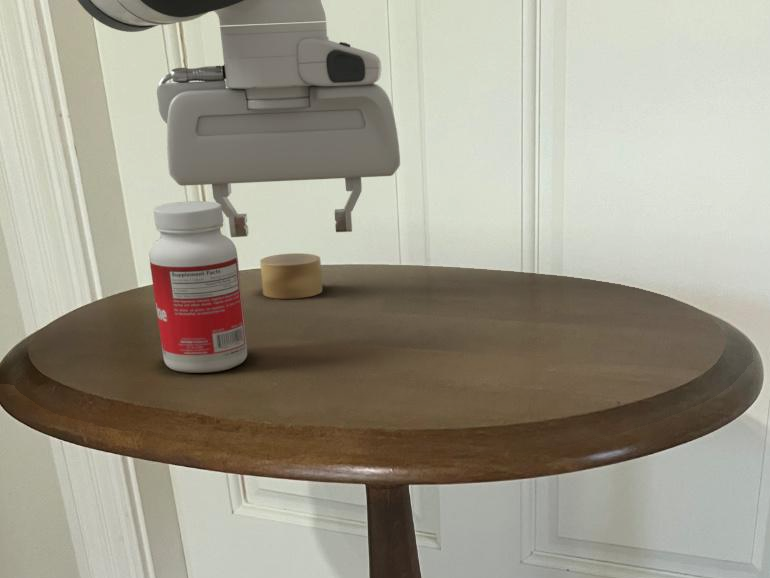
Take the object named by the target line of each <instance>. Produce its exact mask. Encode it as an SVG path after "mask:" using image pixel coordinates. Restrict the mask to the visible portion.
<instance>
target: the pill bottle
mask: <svg viewBox="0 0 770 578" xmlns="http://www.w3.org/2000/svg"><path fill="white" fill-rule="evenodd" d="M223 214H224V213H223V211H222V207H221V204H219V203H217V202H216V201H206V200H205V201H204V200H202V201H201V200H190V201H189V200H187V201H175V202H168V203H163V204H160V205H157V206H155V207H154V208H153V218H154V225H155V227H156V228H155V229H156V231H157V232H159V234H160V237H159V238H158V239H157V240H155V241H154V242H153V244H152V245H151V247H150V248H149V253H148V257H149V268H150V274H151V280H152V287H153V288H152V289H153V294H154V301H155V308H156V313H157V314H156V316H157V323H158V329H159V336H160V337H159V338H160V344H161V350H162V351H161V352H162V357H163V361H164V364H165V366H167V368H169V369H171V370H173V371H175V372H180V373H189V374H203V373H204V374H206V373H217V372H223V371H226V370H230V369H233V368H235V367H237V366H239V365H241V364H242V363H244V361H245V360H246V359H247V357H248V344H247V333H246V326H245V318H244V308H243V298H242V297H243V296H242V288H241V278H240V268H239V258H238V257H239V256H238V252H237V251H238V250H237V246H236V244H235V243H234V241H233V240H232V239H230V238H229V237H227V236H226V235H224V234H222V231H221V228H223V227H224V216H223Z"/></svg>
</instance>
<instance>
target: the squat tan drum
mask: <svg viewBox="0 0 770 578" xmlns="http://www.w3.org/2000/svg"><path fill="white" fill-rule="evenodd" d="M259 264H260V274H261V286H262V287H261V288H262V294H263V296H265V297H267V298H271V299H278V300H293V299H305V298H310V297H314V296H317V295H320V294H321V293H322V292H323V279H322V278H323V277H322V276H323V275H322V265H321V264H322V263H321V257H320V256H319V255H316V254H313V253H282V254H274V255H269V256H266V257H263V258H261V259H260V261H259Z"/></svg>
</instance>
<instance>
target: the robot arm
mask: <svg viewBox="0 0 770 578" xmlns="http://www.w3.org/2000/svg"><path fill="white" fill-rule="evenodd" d="M77 2H78V3H79V4H80V6H81V7H82V8H83V9H84V10H85V11H86V12H87V13H88V14H89V15H90V16H91V17H92V18H94V19H95V20H96V21H97V22H99V23H101V24H102V25H104V26H106V27H109V28H111V29H113V30H115V31H116V30H117V31H121V32H127V33H135V32H137V33H138V32H144V31H147V30H150V29H153V28H154V27H158V26H163V25H164V26H167V25H173V24H176V23H184V22H189V21H193V20H196V19H199V18H200V17H202V16H204V15H207V14H208V13H211V12H214V13H215V14H216V15H217V17H218V21H219V29H220V30H219V31H220V39H221V49H222V57H223V65H211V66H210V65H209V66H201V67H193V68H188V67H176V68H173V69H171V73H168V74H166V75H164V76H163V77H162V78H161V79H160V80H159V82H158V84H157V89H156V95H157V96H156V98H157V105H158V111H159V115H160V117H161V119H162V120H163V122H164V123H165V124H166V152H167V153H166V154H167V155H166V156H167V165H168V167H167V168H168V174H169V177H171V179H173V181H175V183H176V184H177V185H178V186H182V187H184V186H185V187H186V186H203V185H205V186H206V185H211V189H212V197H213V200H214V202H215V203H219V204H221V207H222V213H223V214H224V215H225V217H226V218H227V219H228V228H229V235H230V238H242V237H243V238H244V237H248V236H249V226H248V224H247V223H248V215H247V213H238V212H237V210H236V209H235V207H234V206H233V204H232V202H231V201H230V199H229V198H228V197H229V196H230V195H231V194H232V184H245V183H246V184H249V183H273V182H290V181H291V182H292V181H293V182H294V181H310V180H313V181H314V180H332V179H333V180H335V179H344V181H345V182H344V183H345V191H346V192H350V194H349V197H348V199H347V200H346V202H345V205H344V207H343V208H337V209H334V221H335V225H334V226H335V233H349V232H351V233H352V232H353V219H352V217H353V216H352V212H353V210H354V208H355V206H356V204H357V203H358V200H359V197H360V196H361V193H362V190H363V186H362V185H363V184H362V178H376V177H377V178H378V177H391V176H394V175H395V173H396V172H397V171H398V169H400V166H401V154H400V143H399V135H398V128H397V123H396V118H395V114H394V109H393V105H392V103H391V100H390V97H389V95H388V94H387V92H386V91H385V90H384V88H383V87H382V86H380V85H379V84H377V82H378V81H379V80H380V79H381V75H382V61H381V59H380V57H379V56H378V55H376V54H375V53H372V52H370V51H368V50H367V51H366V50H363V49H360V48H357V47H354V46H351V44H349V43H347V42H343V41H340V42H337V41H336V42H335V41H333V40H330V38H329V36H328V29H327V27H328V26H327V17H326V13H325V9H324V6H323V3H322V0H77ZM170 80H172V82H168V81H170Z"/></svg>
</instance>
